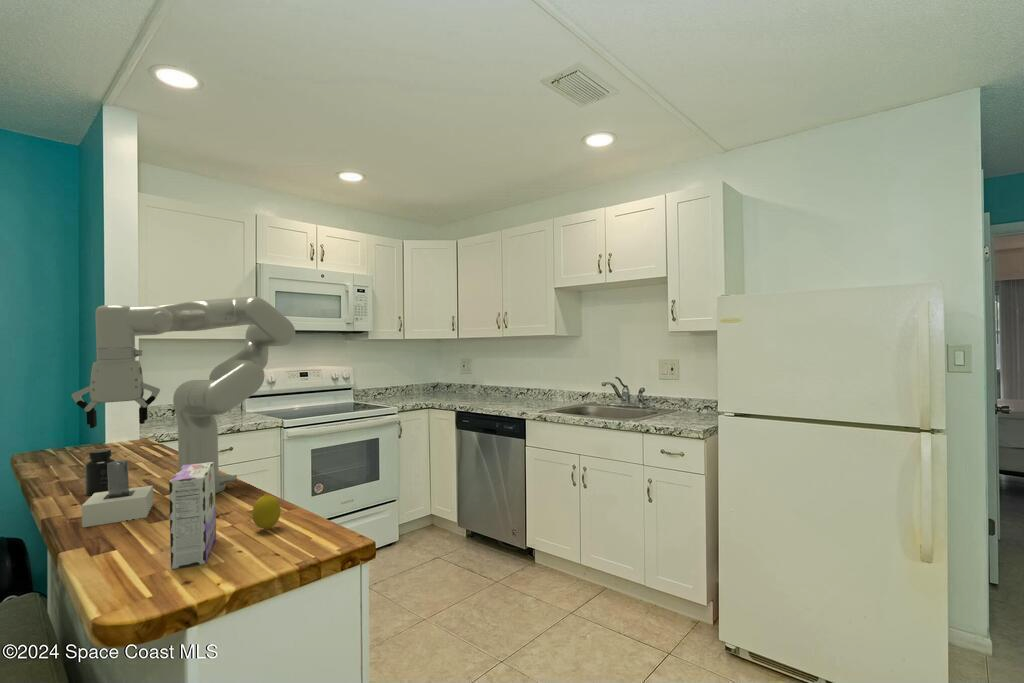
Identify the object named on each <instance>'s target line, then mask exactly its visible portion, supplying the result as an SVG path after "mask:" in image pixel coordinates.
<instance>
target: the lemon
mask: <svg viewBox="0 0 1024 683" xmlns="http://www.w3.org/2000/svg"><path fill="white" fill-rule="evenodd" d="M251 513H252V515H251V516H252V522H253V523H254V524H255V525H256V526H257V528H260V529H263V530H265V531H269V530H270V529H271V528H272V527H274V526H275V525H276V524H277V523H278V521H279V519H280V517H281V505H280V502H279V500H278V498H276V497H275V496H273V495H271V494H268V493H264V494H263V496H261V497H259V498H257V500H256V501H255V502H254V504H253V507H252V511H251Z"/></svg>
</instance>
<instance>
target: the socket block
mask: <svg viewBox="0 0 1024 683" xmlns="http://www.w3.org/2000/svg"><path fill="white" fill-rule="evenodd" d="M153 506H154V485H147V486H146V485H144V486H139V487H131V488H130V487H129V496H127V497H120V498H112V499H109V495H108V491H106V492H98V493H94V494H93V495H92V496H90V497H89V498H88V499H87V500H85V502H83V504H81V527H82V528H89V527H95V526H102V525H107V524H115V523H120V522H121V521H122V522H127V521H126V520H128V521H133V520H132V519H135V520H140V519H139V518H141V519H147V517H148V515H149V513H150V512H151V510H152V508H153ZM151 507H152V508H151ZM150 509H151V510H150ZM149 511H150V512H149Z"/></svg>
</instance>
